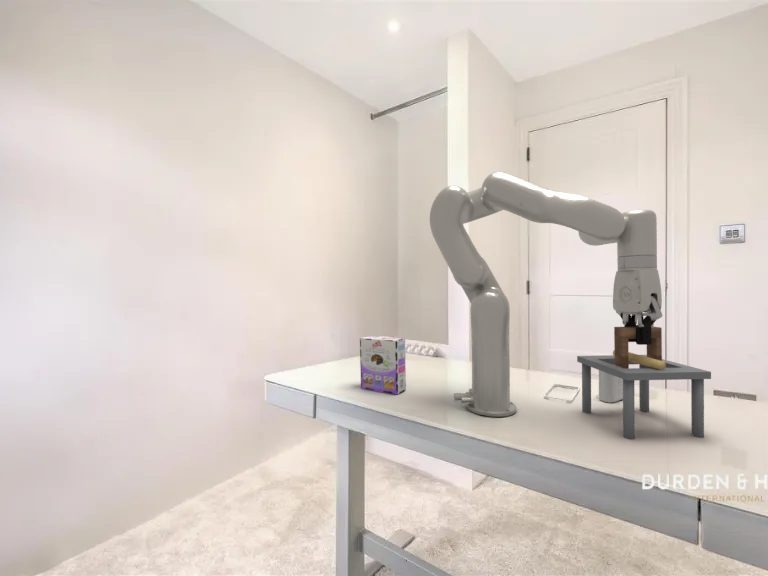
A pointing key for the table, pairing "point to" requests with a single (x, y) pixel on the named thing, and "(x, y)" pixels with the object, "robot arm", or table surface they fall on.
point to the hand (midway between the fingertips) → (637, 342)
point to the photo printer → (610, 387)
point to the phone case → (562, 387)
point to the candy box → (383, 364)
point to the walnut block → (630, 333)
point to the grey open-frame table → (645, 385)
